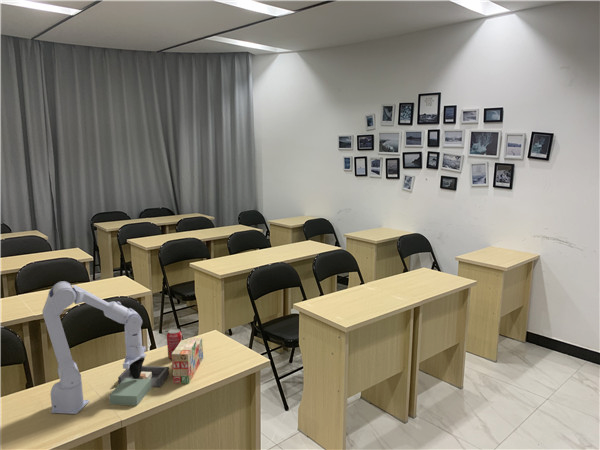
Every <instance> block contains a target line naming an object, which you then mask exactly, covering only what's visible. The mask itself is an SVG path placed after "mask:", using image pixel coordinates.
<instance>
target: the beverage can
mask: <svg viewBox="0 0 600 450" xmlns="http://www.w3.org/2000/svg"><path fill="white" fill-rule="evenodd" d="M181 340H183V333H182V331H181V329H180V328H171V329H169V330H168V331H167V334H166V342H167V343H166V344H167V346H166V347H167V358H168V359H170V360H172V353H173V351H174V350H175V349H176V347H177V346H178V345H179V343H180V341H181Z"/></svg>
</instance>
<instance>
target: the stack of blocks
mask: <svg viewBox="0 0 600 450" xmlns="http://www.w3.org/2000/svg"><path fill="white" fill-rule="evenodd" d="M203 359H204V346H203V337H187V339H182V340H181V341H180V343H179V345H178V346H177V347H176V349H175V350H174V351H173V353H172V359H171V367H172V377H173V378H172V381H173V384H190V383H191V382H192V379H193V378H194V376H195V375H196V372H197V370H198V368H199V366H200V365H201V363H202V361H203Z"/></svg>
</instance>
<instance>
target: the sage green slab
mask: <svg viewBox="0 0 600 450" xmlns="http://www.w3.org/2000/svg"><path fill="white" fill-rule="evenodd" d="M152 388H153V387H151V379H140V378H138V379H133V378H125V379H124V380H123V381H122V382H121V383H120V384H119V383H118V385H117V386H116V387H115V388H114V389H113V390H112V392H111V393H109V395H108V397H109V405H116V406H117V405H121V406H138V405H139V404H140V403H141V402H142V400H143V399H144V398H145V396H146V395H147V394H148V393H149V391H150V390H151V389H152Z"/></svg>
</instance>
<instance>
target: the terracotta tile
mask: <svg viewBox="0 0 600 450" xmlns="http://www.w3.org/2000/svg"><path fill="white" fill-rule="evenodd" d="M139 378H140V379H146V374H145V373H141V374H140V377H139Z"/></svg>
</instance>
